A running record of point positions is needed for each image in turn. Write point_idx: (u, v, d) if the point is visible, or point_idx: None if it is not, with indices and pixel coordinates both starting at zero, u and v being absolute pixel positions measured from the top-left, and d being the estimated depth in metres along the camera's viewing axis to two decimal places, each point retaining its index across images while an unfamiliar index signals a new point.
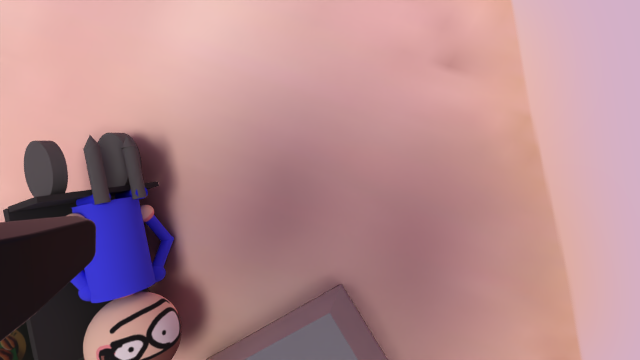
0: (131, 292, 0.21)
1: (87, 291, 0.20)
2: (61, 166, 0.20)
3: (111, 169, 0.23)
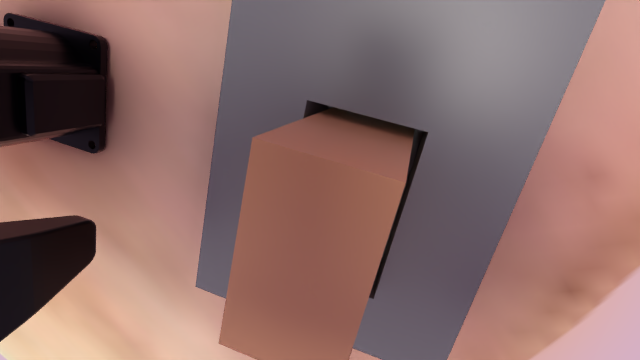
0: None
1: None
2: None
3: None
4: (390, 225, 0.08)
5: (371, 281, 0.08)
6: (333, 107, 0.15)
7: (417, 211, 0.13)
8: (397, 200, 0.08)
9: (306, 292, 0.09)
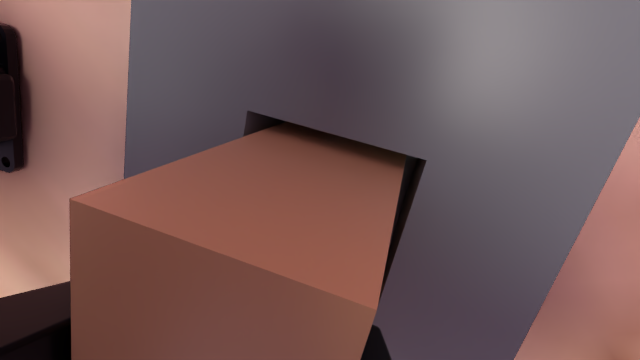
0: None
1: None
2: None
3: None
4: None
5: None
6: None
7: (411, 275, 0.09)
8: (360, 342, 0.04)
9: None
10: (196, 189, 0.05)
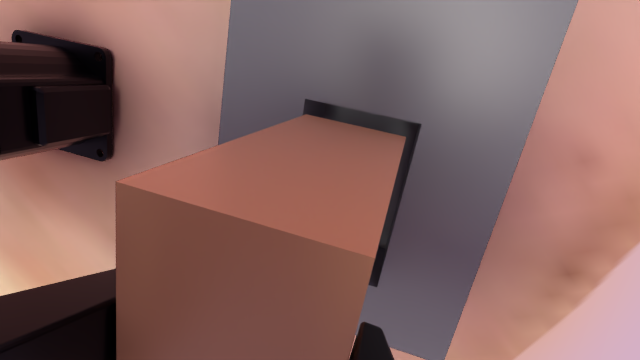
0: None
1: None
2: None
3: None
4: (354, 328, 0.04)
5: None
6: (300, 116, 0.12)
7: (415, 200, 0.13)
8: (362, 287, 0.04)
9: None
10: (217, 174, 0.06)
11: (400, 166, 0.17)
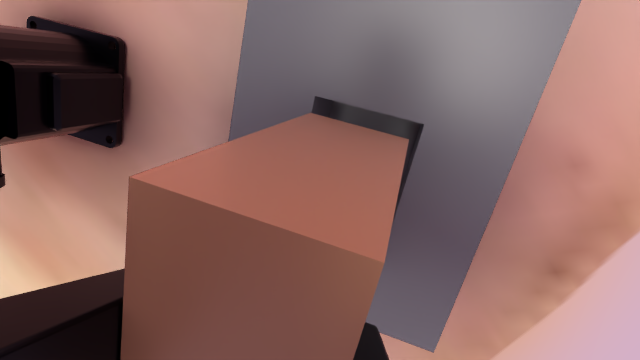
0: None
1: None
2: None
3: None
4: (360, 329, 0.05)
5: None
6: (305, 114, 0.12)
7: (415, 196, 0.14)
8: (370, 290, 0.04)
9: None
10: (228, 172, 0.06)
11: None
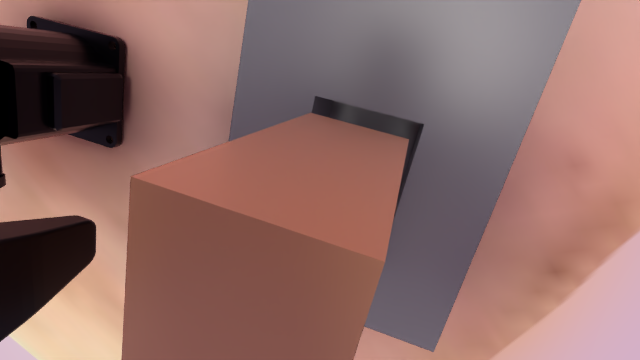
0: None
1: None
2: None
3: None
4: (360, 328, 0.05)
5: None
6: (305, 114, 0.12)
7: (415, 196, 0.14)
8: (371, 289, 0.04)
9: None
10: (229, 172, 0.06)
11: None
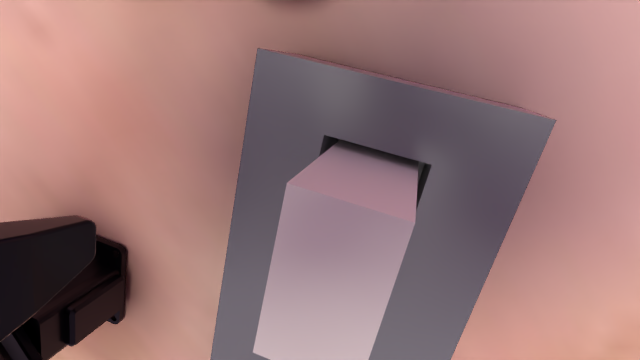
0: None
1: None
2: None
3: None
4: None
5: None
6: None
7: None
8: None
9: None
10: None
11: None
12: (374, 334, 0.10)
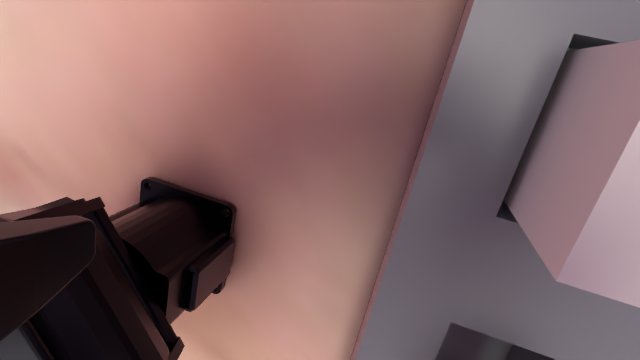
0: None
1: None
2: None
3: None
4: None
5: None
6: None
7: None
8: None
9: None
10: None
11: (505, 344, 0.19)
12: None
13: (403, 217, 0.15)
